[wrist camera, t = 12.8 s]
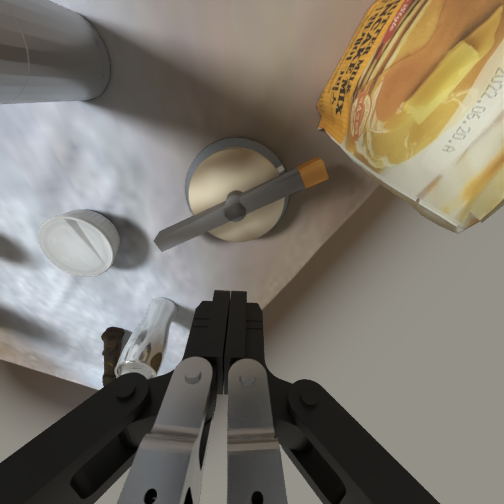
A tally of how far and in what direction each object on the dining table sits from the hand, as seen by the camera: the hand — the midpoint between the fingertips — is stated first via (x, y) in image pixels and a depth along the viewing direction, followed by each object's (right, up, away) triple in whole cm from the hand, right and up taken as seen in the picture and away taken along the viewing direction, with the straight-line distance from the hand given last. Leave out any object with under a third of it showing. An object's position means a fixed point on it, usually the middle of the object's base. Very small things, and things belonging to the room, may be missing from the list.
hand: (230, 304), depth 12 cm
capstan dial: (-1, +11, +27) cm, 30 cm away
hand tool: (-31, -22, +50) cm, 63 cm away
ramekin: (-27, +6, +33) cm, 43 cm away
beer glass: (-18, -9, +42) cm, 47 cm away
